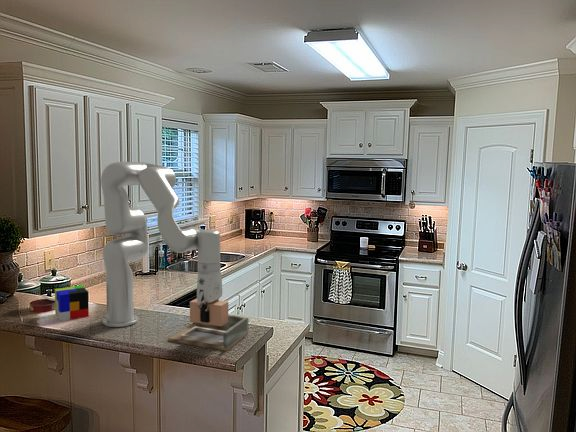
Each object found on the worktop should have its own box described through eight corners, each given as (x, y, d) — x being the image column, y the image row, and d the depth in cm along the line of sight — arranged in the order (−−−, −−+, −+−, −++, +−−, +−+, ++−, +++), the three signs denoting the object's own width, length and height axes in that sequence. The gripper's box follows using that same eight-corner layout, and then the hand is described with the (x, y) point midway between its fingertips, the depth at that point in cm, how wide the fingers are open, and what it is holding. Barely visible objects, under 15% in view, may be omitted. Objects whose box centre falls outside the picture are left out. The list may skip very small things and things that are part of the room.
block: (228, 321, 162) (228, 301, 161) (221, 326, 157) (221, 305, 157) (197, 317, 166) (197, 297, 165) (189, 321, 161) (189, 301, 161)
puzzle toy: (60, 321, 177) (59, 295, 176) (55, 314, 185) (54, 289, 184) (88, 316, 183) (88, 291, 182) (82, 309, 191) (82, 285, 190)
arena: (168, 340, 161) (168, 323, 160) (194, 325, 177) (194, 309, 176) (226, 351, 154) (226, 333, 153) (248, 333, 170) (248, 317, 169)
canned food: (35, 318, 194) (37, 294, 197) (61, 315, 195) (62, 291, 198) (22, 313, 183) (24, 288, 187) (49, 310, 184) (51, 285, 188)
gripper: (206, 273, 150) (206, 328, 152) (230, 263, 166) (230, 313, 168) (185, 271, 153) (186, 325, 155) (211, 261, 169) (211, 311, 171)
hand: (209, 318), depth 162 cm, fingers closed on block, 5 cm apart
